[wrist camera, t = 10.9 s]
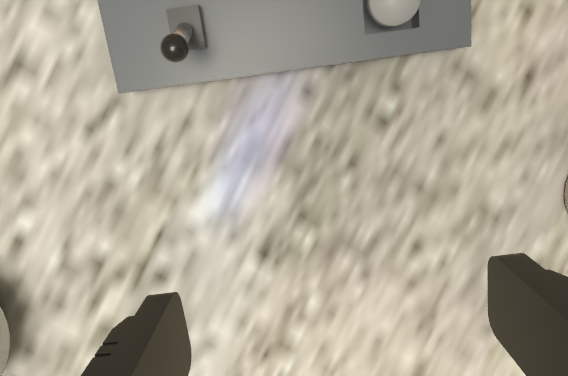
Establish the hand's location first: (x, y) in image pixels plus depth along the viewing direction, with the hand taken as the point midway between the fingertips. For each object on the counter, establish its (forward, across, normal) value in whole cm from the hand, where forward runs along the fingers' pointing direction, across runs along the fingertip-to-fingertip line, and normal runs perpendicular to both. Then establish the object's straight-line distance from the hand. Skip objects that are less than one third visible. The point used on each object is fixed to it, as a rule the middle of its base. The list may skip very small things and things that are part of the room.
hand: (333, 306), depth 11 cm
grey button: (+25, -8, -10) cm, 28 cm away
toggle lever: (+24, +8, -10) cm, 27 cm away
